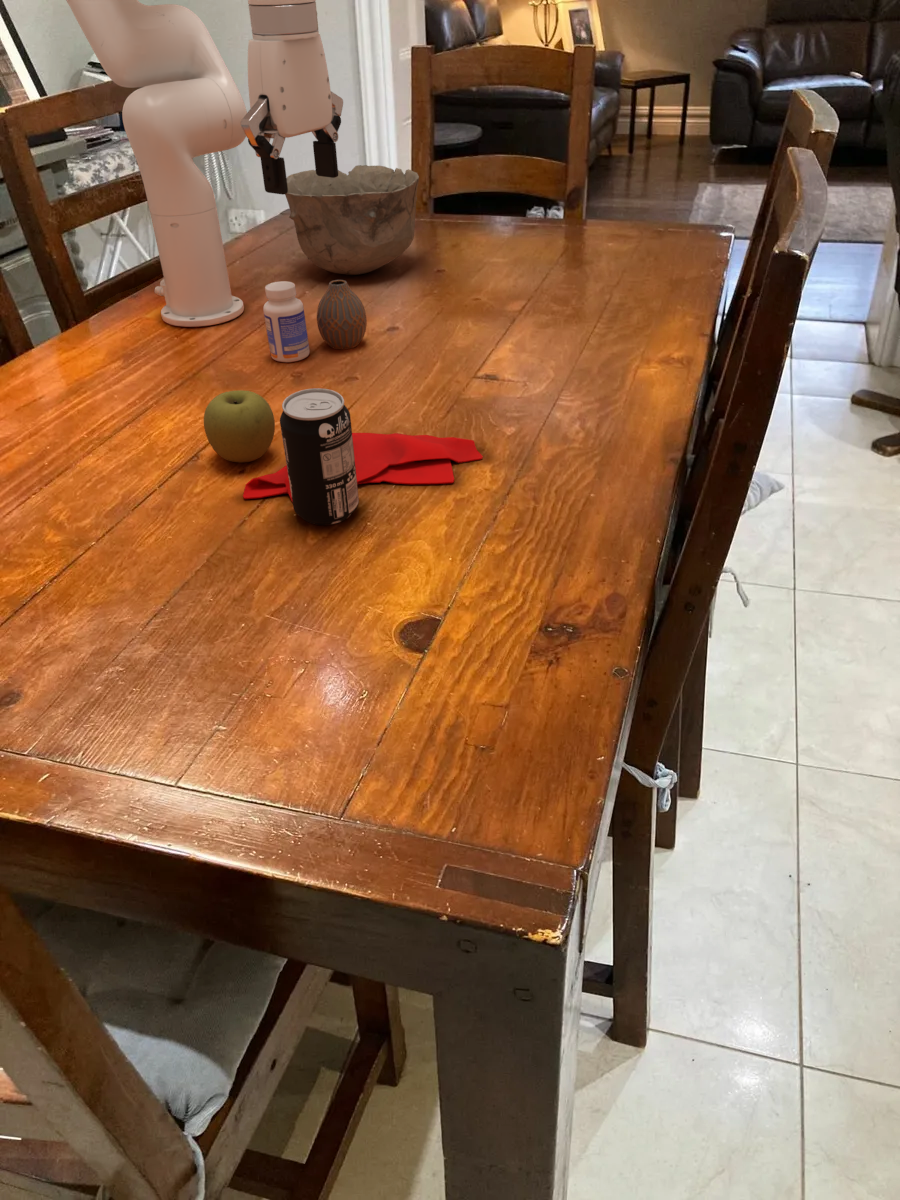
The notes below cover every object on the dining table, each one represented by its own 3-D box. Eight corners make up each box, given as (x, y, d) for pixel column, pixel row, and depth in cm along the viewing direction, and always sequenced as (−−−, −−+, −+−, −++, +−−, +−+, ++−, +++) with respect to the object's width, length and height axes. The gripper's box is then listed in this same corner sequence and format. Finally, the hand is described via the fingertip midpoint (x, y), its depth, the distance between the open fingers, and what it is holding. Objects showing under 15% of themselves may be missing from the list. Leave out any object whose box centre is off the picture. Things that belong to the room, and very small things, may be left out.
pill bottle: (316, 350, 131) (307, 280, 125) (299, 364, 127) (289, 293, 121) (282, 347, 133) (271, 278, 127) (263, 361, 128) (252, 290, 123)
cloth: (470, 426, 109) (470, 408, 108) (492, 482, 98) (492, 462, 97) (245, 449, 107) (242, 430, 105) (242, 508, 96) (238, 489, 94)
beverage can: (295, 493, 97) (279, 388, 89) (359, 489, 97) (348, 384, 89) (292, 530, 92) (275, 422, 84) (359, 526, 92) (348, 417, 84)
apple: (222, 480, 101) (210, 418, 97) (202, 451, 107) (190, 392, 102) (289, 462, 103) (279, 402, 99) (266, 435, 109) (256, 377, 105)
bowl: (445, 262, 164) (442, 169, 155) (372, 298, 149) (363, 198, 140) (346, 247, 173) (337, 159, 165) (268, 280, 159) (254, 185, 150)
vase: (361, 354, 129) (355, 290, 124) (313, 352, 130) (305, 289, 125) (374, 336, 135) (368, 275, 130) (328, 335, 136) (321, 274, 131)
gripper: (307, 15, 113) (323, 167, 123) (205, 29, 101) (231, 196, 112) (357, 16, 110) (368, 173, 120) (257, 31, 98) (279, 203, 108)
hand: (302, 184), depth 116 cm, fingers open, 9 cm apart
